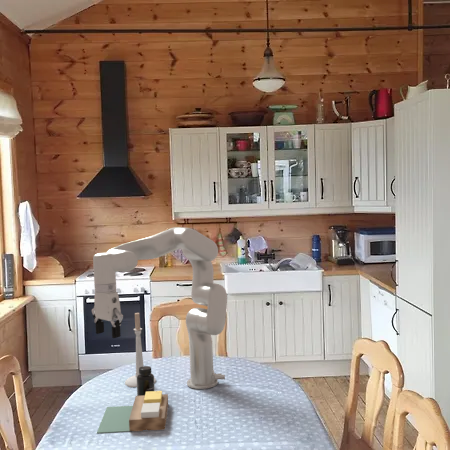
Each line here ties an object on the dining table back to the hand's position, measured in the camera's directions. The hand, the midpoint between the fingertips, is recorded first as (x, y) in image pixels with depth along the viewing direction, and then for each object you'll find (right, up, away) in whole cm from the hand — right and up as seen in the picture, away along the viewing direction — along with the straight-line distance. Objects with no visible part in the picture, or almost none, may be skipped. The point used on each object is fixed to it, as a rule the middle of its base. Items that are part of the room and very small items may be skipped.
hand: (108, 335), depth 209 cm
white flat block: (+16, -26, -5) cm, 31 cm away
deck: (+15, -30, +1) cm, 33 cm away
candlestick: (+6, -27, +37) cm, 47 cm away
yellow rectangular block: (+15, -25, +6) cm, 30 cm away
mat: (+4, -30, 0) cm, 30 cm away
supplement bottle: (+11, -28, +20) cm, 36 cm away
